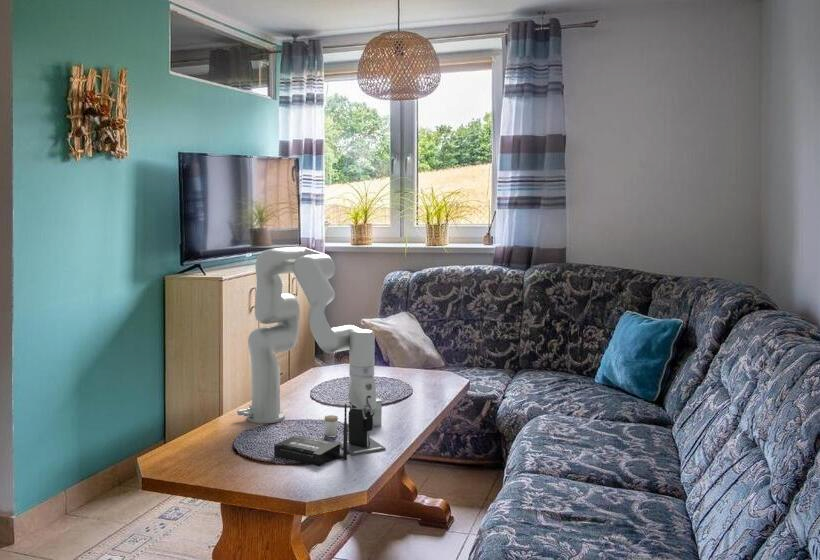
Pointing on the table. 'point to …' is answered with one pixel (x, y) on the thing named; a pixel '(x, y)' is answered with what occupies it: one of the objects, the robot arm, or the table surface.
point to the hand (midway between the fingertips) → (361, 426)
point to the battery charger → (357, 428)
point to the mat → (363, 448)
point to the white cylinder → (331, 425)
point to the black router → (312, 448)
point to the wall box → (377, 412)
